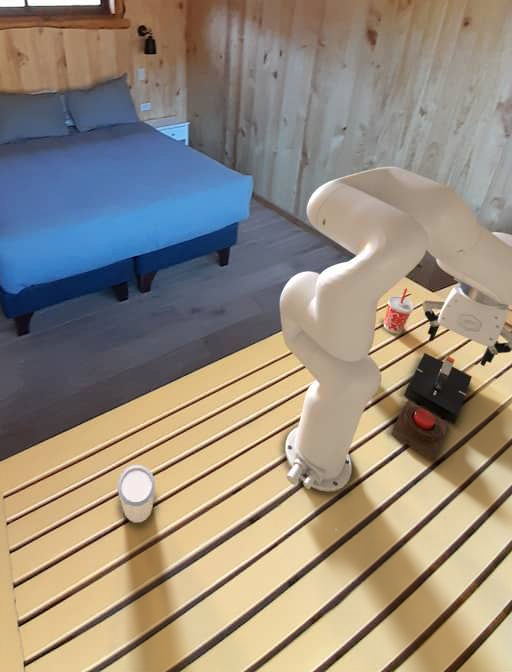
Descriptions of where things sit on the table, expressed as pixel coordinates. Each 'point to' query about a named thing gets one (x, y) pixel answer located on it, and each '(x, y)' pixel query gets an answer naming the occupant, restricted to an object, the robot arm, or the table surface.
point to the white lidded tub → (136, 492)
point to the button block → (419, 431)
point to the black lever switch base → (433, 399)
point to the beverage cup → (397, 313)
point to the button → (424, 419)
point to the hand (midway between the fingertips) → (456, 349)
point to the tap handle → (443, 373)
